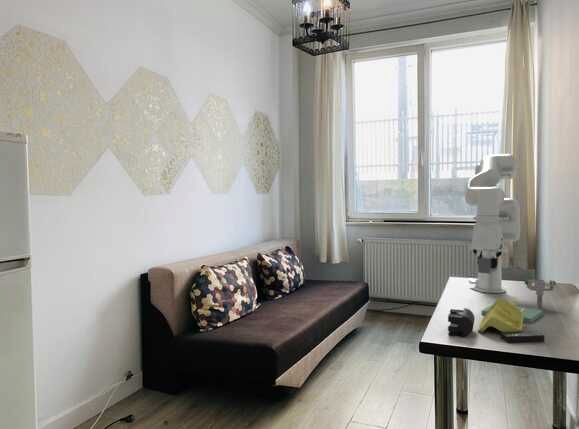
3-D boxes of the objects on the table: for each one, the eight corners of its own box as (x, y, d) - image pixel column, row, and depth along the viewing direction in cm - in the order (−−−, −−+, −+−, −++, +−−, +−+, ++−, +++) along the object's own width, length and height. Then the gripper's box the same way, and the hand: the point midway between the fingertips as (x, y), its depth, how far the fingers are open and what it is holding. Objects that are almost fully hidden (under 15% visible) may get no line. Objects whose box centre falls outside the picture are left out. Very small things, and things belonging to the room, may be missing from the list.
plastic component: (521, 331, 129) (488, 313, 133) (509, 351, 131) (476, 333, 135) (524, 311, 146) (494, 295, 150) (513, 328, 148) (484, 313, 152)
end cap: (473, 339, 130) (473, 316, 129) (447, 336, 133) (447, 314, 132) (474, 329, 139) (474, 308, 138) (450, 327, 142) (450, 306, 141)
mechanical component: (556, 307, 163) (556, 281, 163) (526, 306, 165) (526, 280, 165) (552, 305, 166) (553, 279, 166) (523, 304, 168) (524, 279, 168)
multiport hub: (500, 339, 130) (500, 331, 130) (535, 338, 131) (535, 330, 130) (508, 344, 125) (508, 336, 125) (545, 343, 126) (545, 335, 126)
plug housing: (478, 272, 166) (478, 258, 166) (486, 269, 172) (486, 255, 172) (489, 273, 163) (489, 259, 163) (497, 270, 169) (497, 256, 169)
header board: (481, 314, 155) (481, 300, 155) (495, 307, 165) (495, 293, 165) (530, 323, 144) (531, 308, 144) (542, 314, 154) (542, 300, 154)
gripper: (461, 219, 169) (461, 266, 170) (507, 221, 158) (507, 271, 159) (469, 218, 175) (469, 264, 176) (514, 220, 163) (514, 268, 164)
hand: (487, 267), depth 167 cm, fingers closed on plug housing, 4 cm apart
